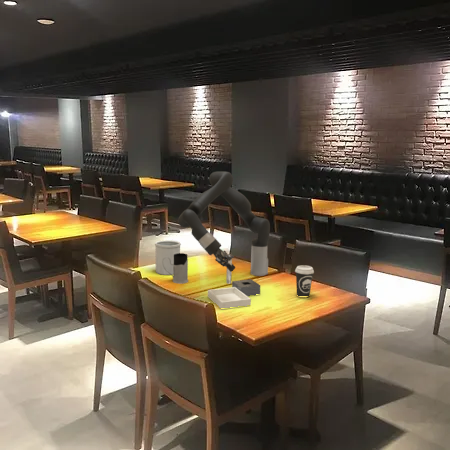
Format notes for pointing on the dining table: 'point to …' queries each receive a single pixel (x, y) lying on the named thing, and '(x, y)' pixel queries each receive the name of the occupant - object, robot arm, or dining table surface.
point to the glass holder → (179, 268)
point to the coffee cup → (304, 280)
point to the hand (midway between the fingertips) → (233, 269)
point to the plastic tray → (229, 297)
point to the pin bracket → (247, 287)
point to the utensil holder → (166, 255)
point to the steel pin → (228, 279)
